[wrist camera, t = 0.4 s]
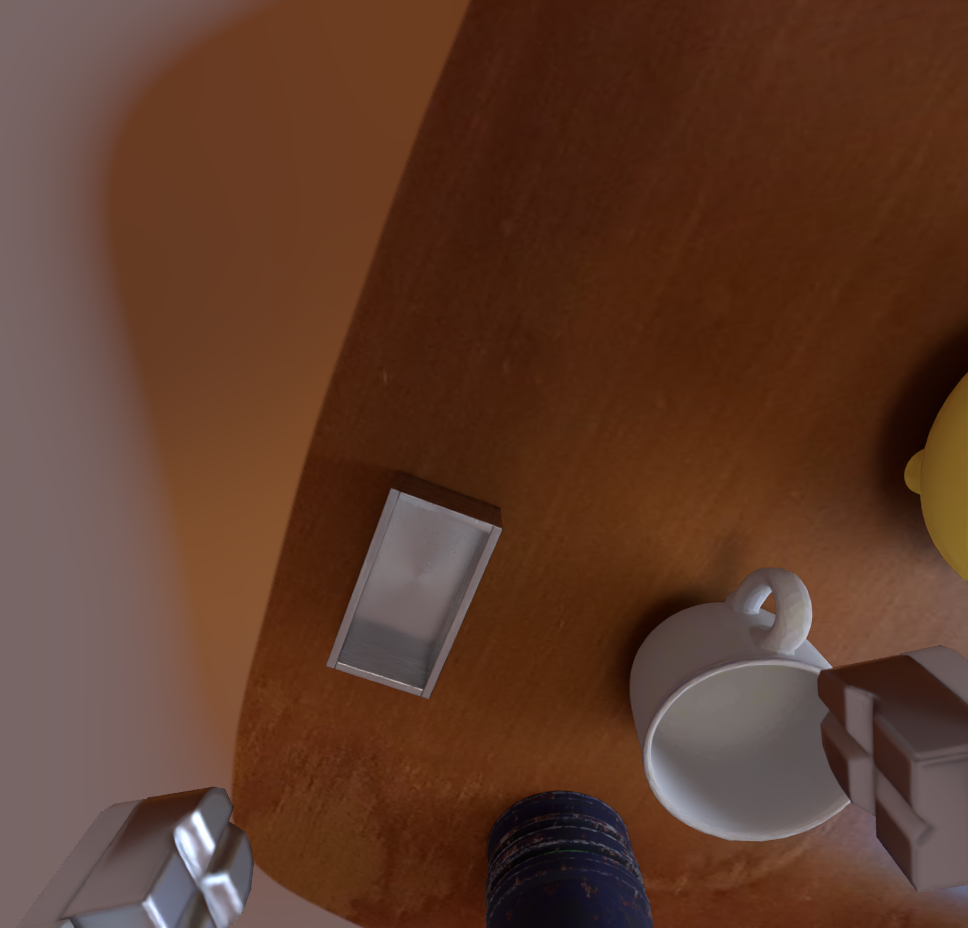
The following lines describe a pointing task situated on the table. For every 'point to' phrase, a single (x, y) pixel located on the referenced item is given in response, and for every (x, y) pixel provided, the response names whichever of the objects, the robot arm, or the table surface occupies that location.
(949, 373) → the table surface
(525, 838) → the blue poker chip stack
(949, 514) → the teapot
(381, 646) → the open storage tray
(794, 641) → the teacup
